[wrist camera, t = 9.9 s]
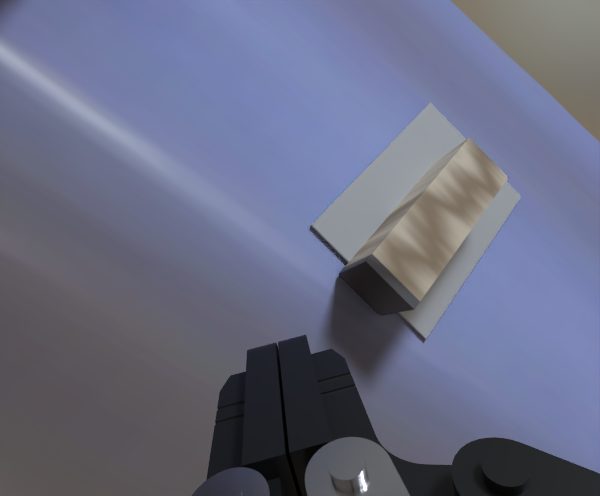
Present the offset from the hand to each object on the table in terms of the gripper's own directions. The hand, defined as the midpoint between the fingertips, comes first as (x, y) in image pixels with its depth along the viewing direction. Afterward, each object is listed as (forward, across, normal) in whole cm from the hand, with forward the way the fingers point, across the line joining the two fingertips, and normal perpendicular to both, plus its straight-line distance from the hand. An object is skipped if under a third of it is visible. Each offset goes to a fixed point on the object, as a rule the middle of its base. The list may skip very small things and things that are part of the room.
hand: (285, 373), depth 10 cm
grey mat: (+26, -15, +4) cm, 31 cm away
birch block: (+19, -7, +7) cm, 21 cm away
